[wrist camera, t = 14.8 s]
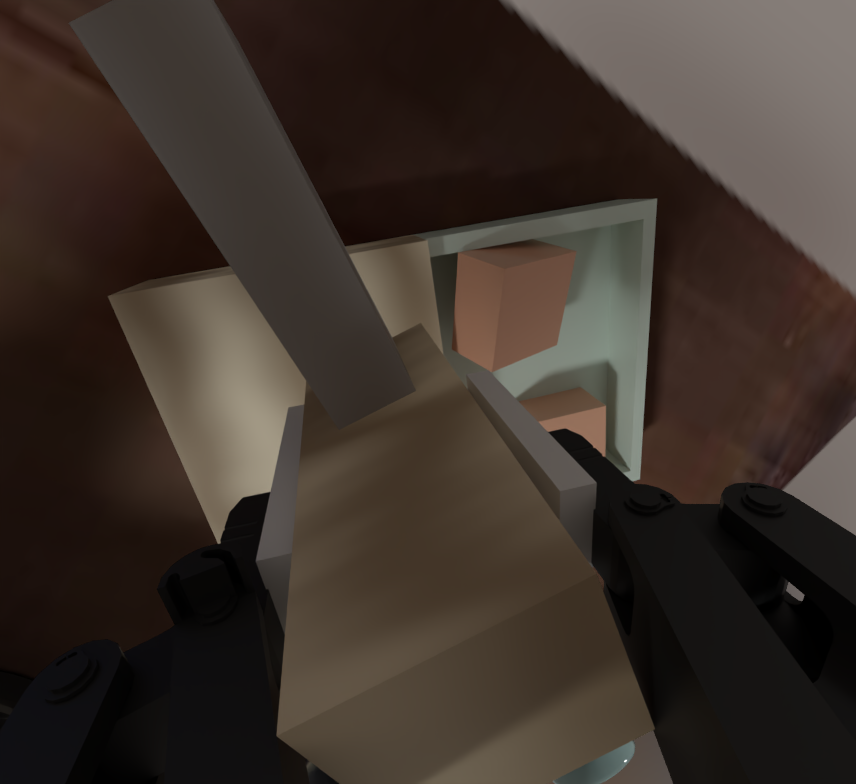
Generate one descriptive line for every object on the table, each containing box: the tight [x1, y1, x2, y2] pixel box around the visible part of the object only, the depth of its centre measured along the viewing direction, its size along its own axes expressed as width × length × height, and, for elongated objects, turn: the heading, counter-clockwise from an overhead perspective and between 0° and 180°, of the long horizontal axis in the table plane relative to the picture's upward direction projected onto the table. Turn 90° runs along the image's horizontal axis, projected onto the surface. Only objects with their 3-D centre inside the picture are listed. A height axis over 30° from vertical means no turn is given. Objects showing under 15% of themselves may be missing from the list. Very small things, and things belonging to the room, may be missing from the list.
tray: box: [414, 199, 657, 481], centre depth 31 cm, size 14×20×4 cm
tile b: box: [452, 239, 577, 372], centre depth 27 cm, size 6×6×4 cm
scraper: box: [69, 0, 655, 784], centre depth 10 cm, size 4×20×10 cm, turn 25°
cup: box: [553, 740, 635, 784], centre depth 42 cm, size 8×8×10 cm
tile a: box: [519, 387, 606, 457], centre depth 33 cm, size 6×6×4 cm
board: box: [108, 235, 443, 544], centre depth 29 cm, size 16×20×5 cm
